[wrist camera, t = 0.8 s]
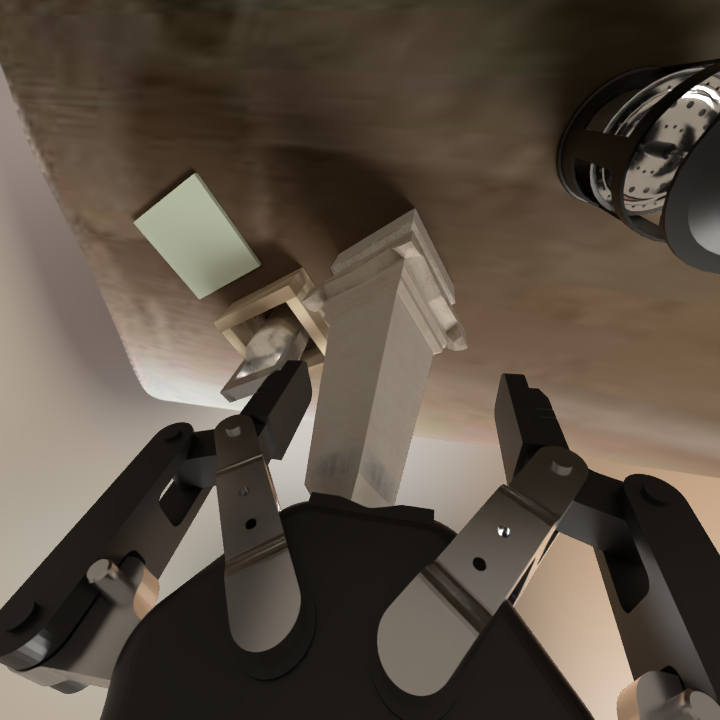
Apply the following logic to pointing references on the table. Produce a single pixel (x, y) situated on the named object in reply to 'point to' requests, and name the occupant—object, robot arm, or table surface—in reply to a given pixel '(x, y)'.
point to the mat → (197, 238)
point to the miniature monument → (377, 358)
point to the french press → (655, 157)
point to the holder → (289, 289)
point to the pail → (268, 352)
